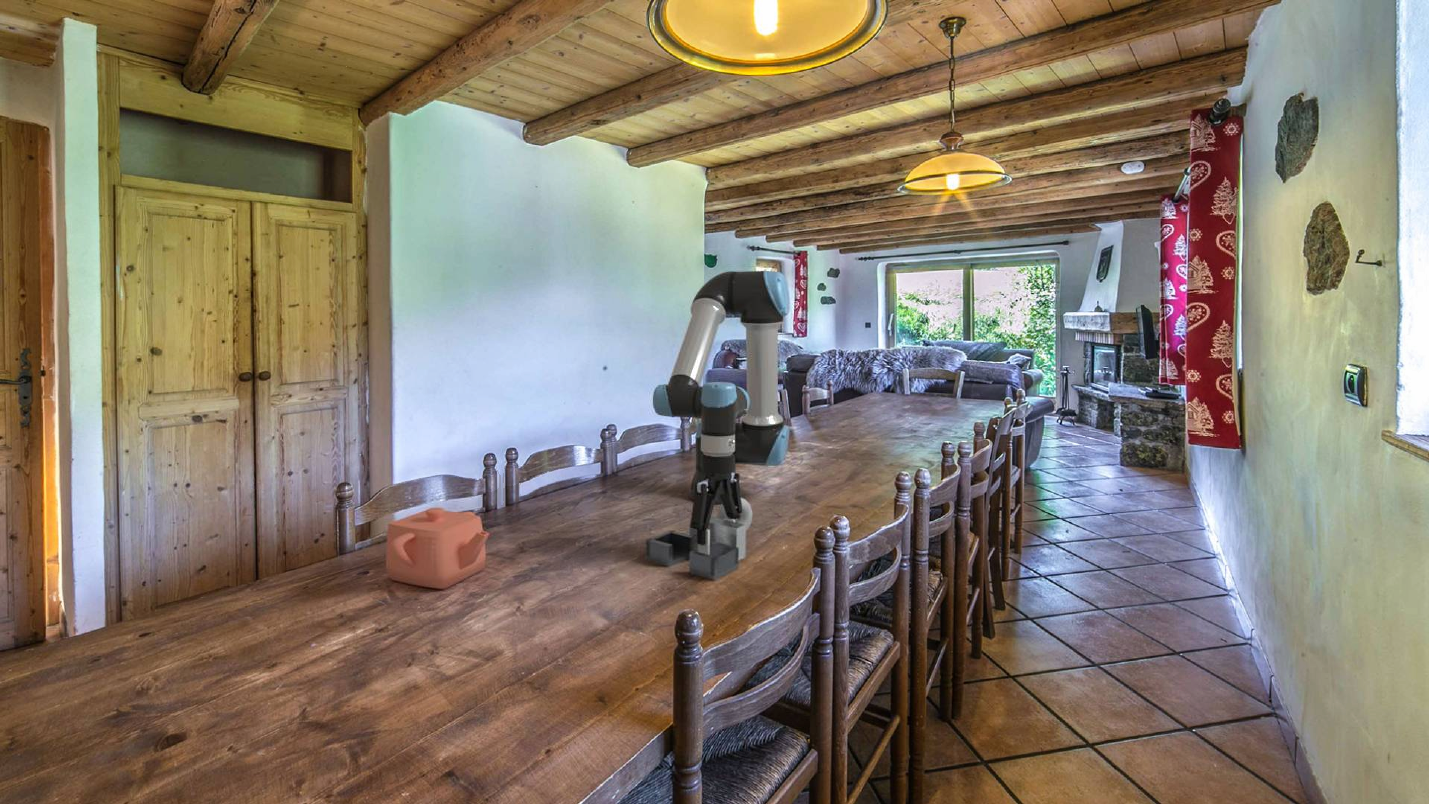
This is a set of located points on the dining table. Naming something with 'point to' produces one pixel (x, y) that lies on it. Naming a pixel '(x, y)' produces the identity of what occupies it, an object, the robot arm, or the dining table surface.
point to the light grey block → (724, 534)
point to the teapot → (435, 548)
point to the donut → (745, 515)
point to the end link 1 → (669, 548)
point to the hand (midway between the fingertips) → (716, 551)
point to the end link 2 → (715, 561)
